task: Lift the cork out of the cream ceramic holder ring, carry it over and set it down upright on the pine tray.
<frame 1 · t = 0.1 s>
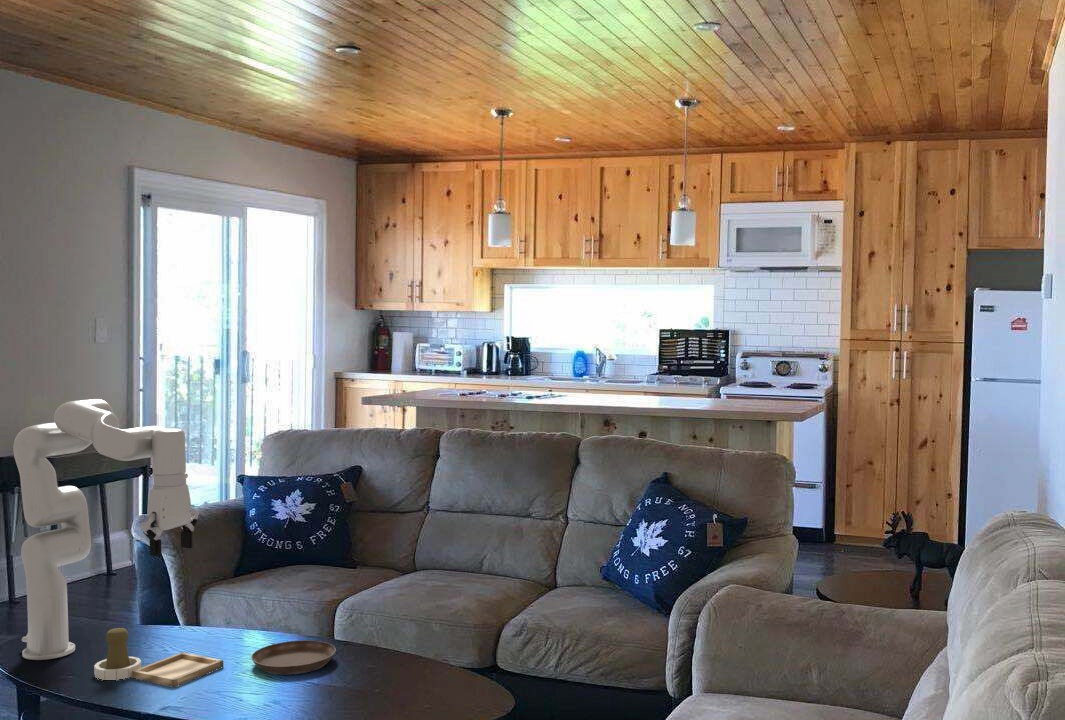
hand: (171, 551, 260), 31 cm above the table, tool pointing down, fingers open, 9 cm apart
tray: (178, 672, 266), on the table
plant saucer: (294, 665, 272), on the table
holder ring: (118, 673, 266), on the table
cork: (118, 674, 266), resting in holder ring
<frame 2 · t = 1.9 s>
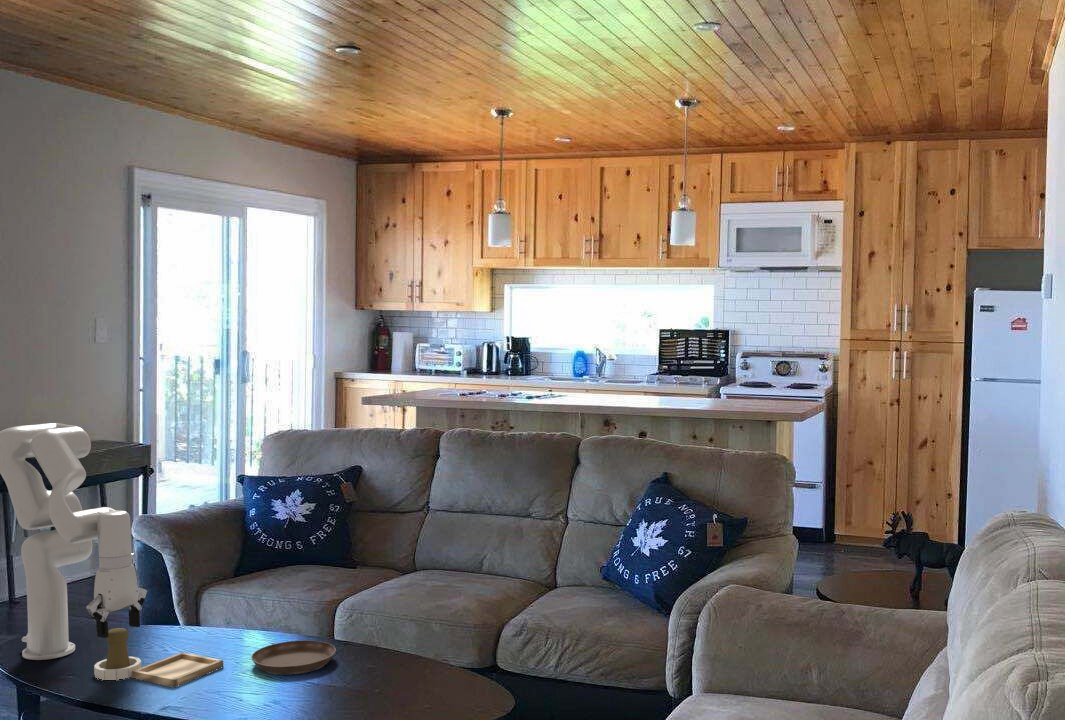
hand: (119, 631, 265), 10 cm above the table, tool pointing down, fingers open, 9 cm apart
nothing on the table moved.
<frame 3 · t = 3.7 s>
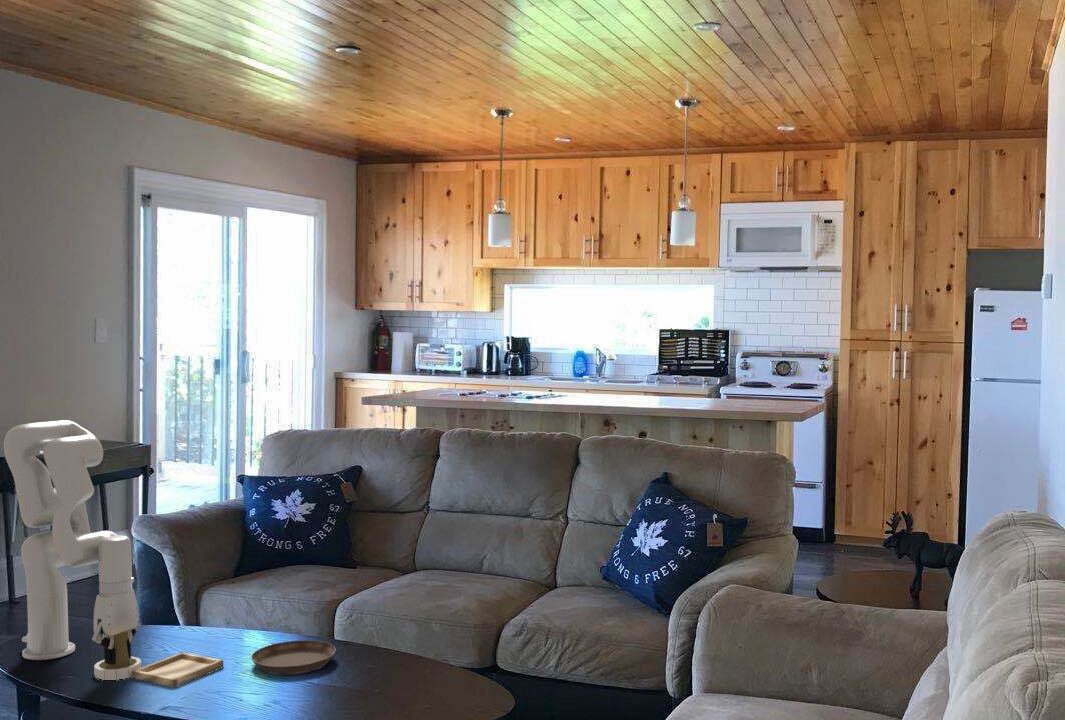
hand: (117, 660, 266), 3 cm above the table, tool pointing down, fingers closed on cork, 3 cm apart
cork: (118, 674, 266), resting in holder ring, touching gripper
everything else where it was.
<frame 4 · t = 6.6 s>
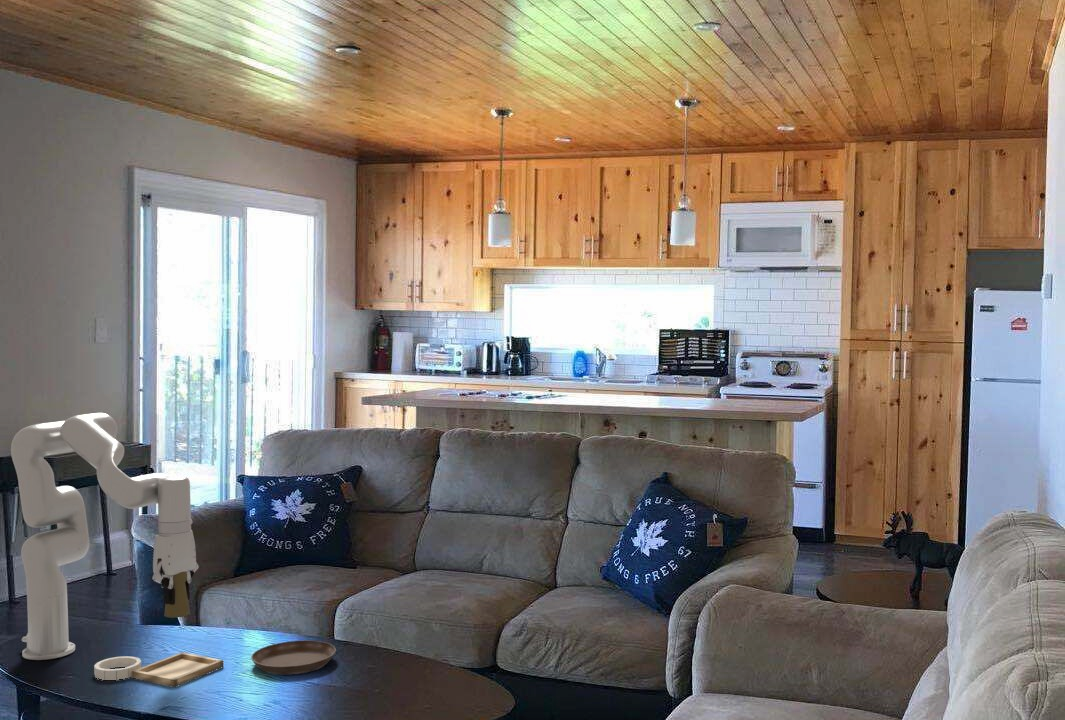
hand: (176, 600, 265), 18 cm above the table, tool pointing down, fingers closed on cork, 3 cm apart
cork: (177, 614, 265), point 14 cm above the table, touching gripper
everything else where it was.
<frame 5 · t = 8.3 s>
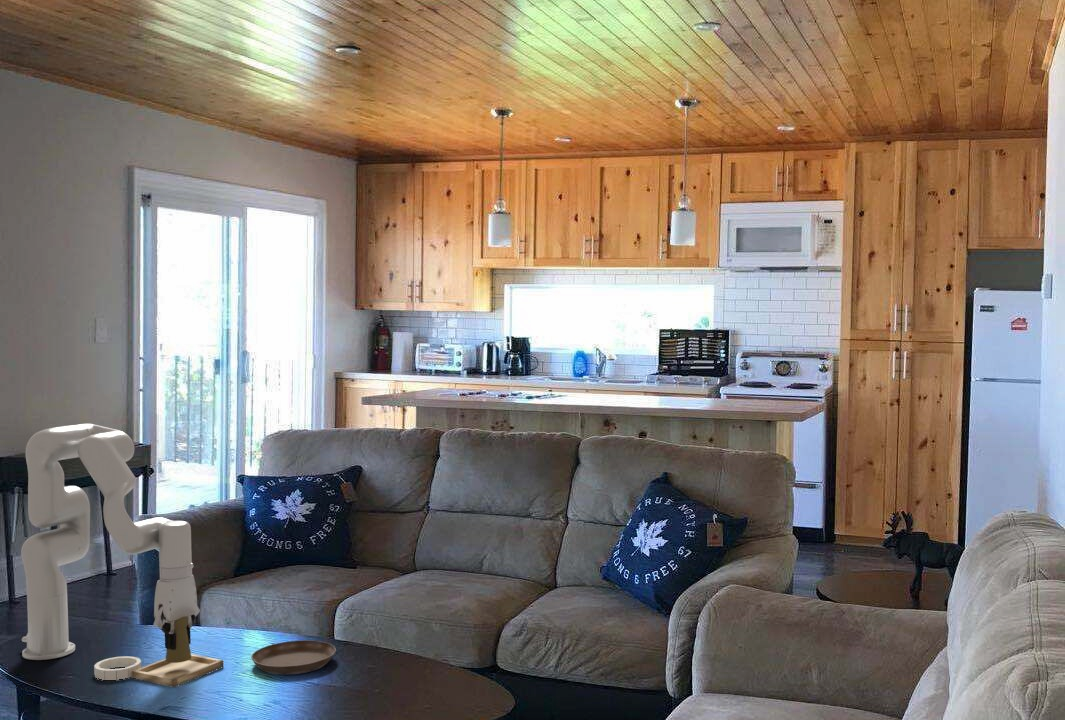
hand: (177, 645, 266), 7 cm above the table, tool pointing down, fingers closed on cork, 3 cm apart
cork: (178, 659, 266), point 3 cm above the table, touching gripper
everything else where it was.
when the fingers open (5 cm above the table, at t = 9.5 s): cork stays where it is, resting on tray.
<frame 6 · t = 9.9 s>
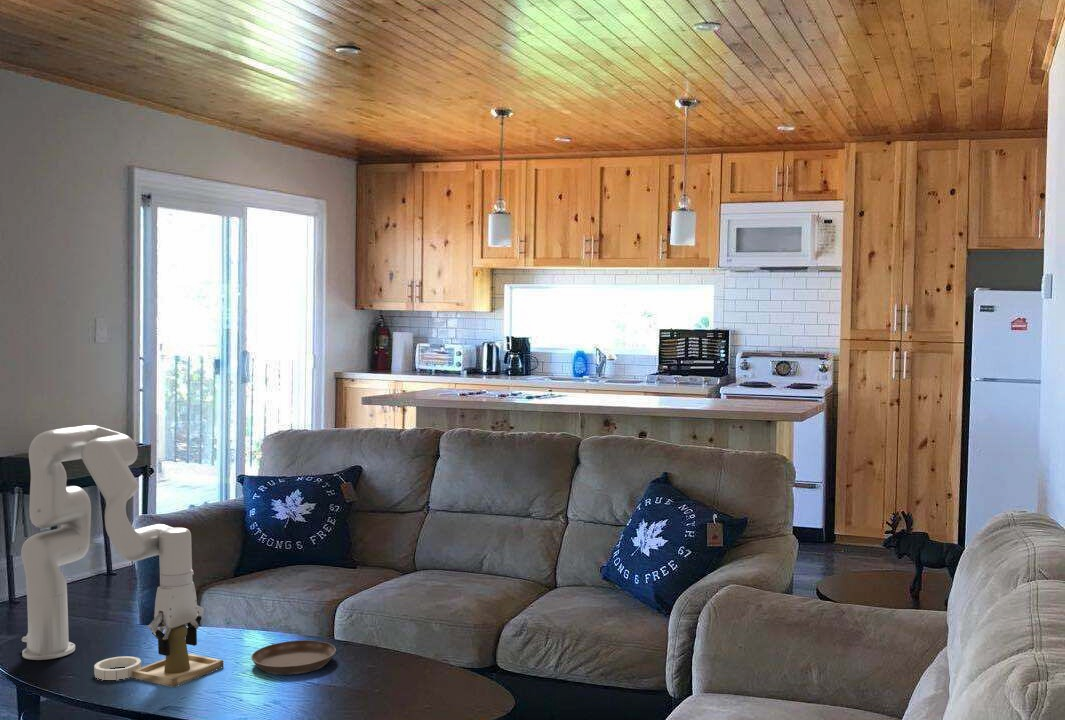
hand: (177, 649, 266), 6 cm above the table, tool pointing down, fingers open, 8 cm apart
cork: (177, 669, 266), point 1 cm above the table, touching tray
everything else where it was.
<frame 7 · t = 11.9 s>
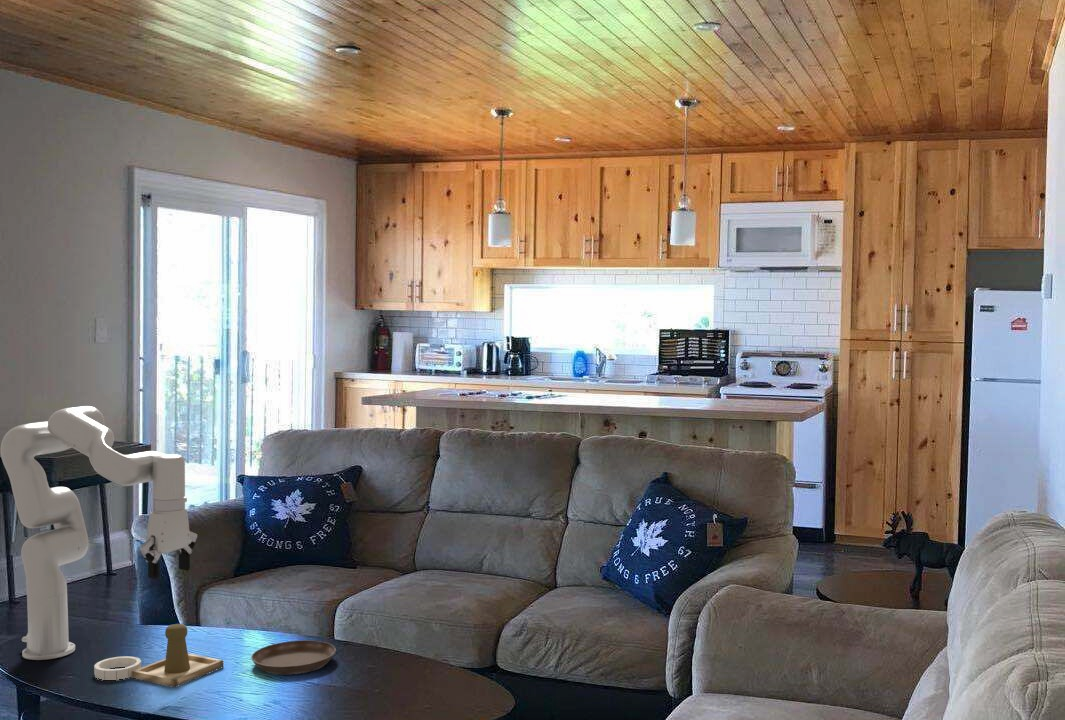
hand: (169, 573, 267), 24 cm above the table, tool pointing down, fingers open, 9 cm apart
nothing on the table moved.
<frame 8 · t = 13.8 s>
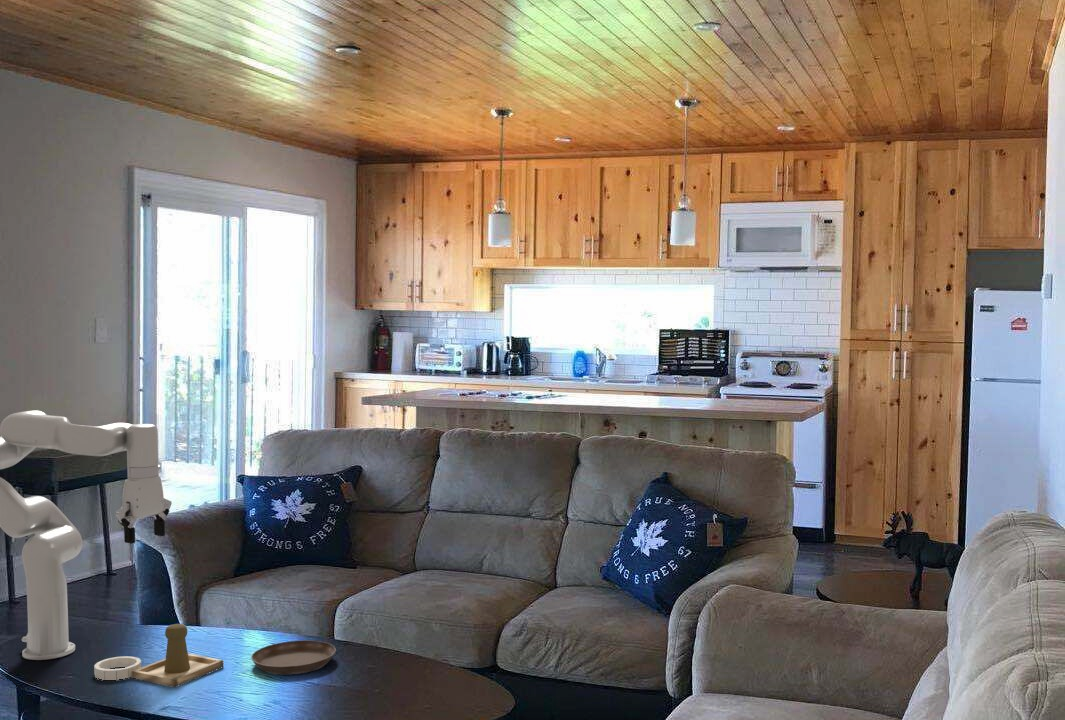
hand: (144, 539, 278), 30 cm above the table, tool pointing down, fingers open, 9 cm apart
nothing on the table moved.
at the end: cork inside the target area on the tray (0.4 cm from its centre), point 0.6 cm above the tray's base; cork tilted 0°; the gripper is holding nothing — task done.
